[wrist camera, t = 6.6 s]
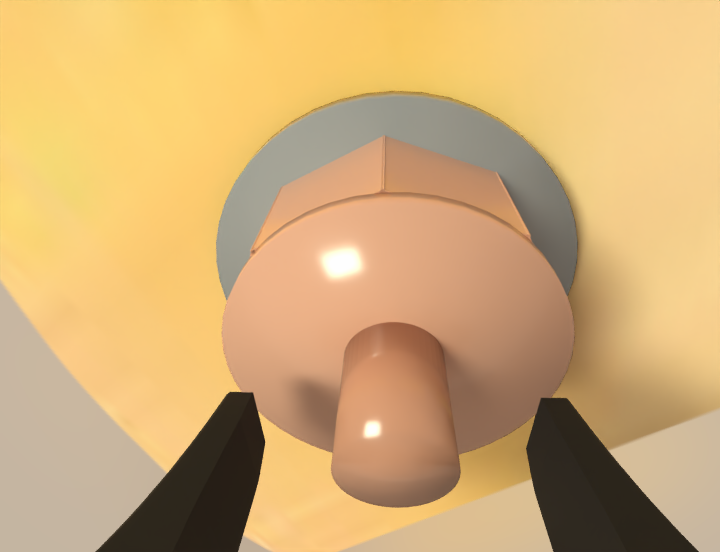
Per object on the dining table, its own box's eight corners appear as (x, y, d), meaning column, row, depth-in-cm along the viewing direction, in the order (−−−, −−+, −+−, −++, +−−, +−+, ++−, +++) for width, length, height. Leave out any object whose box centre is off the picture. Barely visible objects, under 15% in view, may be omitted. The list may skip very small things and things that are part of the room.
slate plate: (651, 181, 15) (663, 191, 14) (462, 415, 22) (465, 429, 21) (269, 19, 13) (263, 22, 12) (197, 335, 20) (191, 348, 19)
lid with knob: (585, 191, 14) (752, 383, 8) (459, 386, 20) (495, 597, 13) (291, 94, 13) (194, 224, 7) (241, 329, 18) (161, 531, 12)
